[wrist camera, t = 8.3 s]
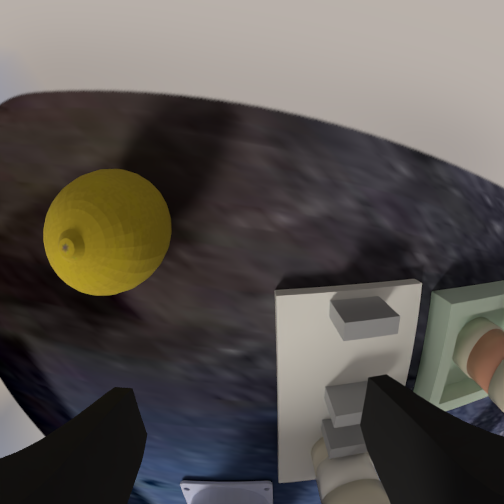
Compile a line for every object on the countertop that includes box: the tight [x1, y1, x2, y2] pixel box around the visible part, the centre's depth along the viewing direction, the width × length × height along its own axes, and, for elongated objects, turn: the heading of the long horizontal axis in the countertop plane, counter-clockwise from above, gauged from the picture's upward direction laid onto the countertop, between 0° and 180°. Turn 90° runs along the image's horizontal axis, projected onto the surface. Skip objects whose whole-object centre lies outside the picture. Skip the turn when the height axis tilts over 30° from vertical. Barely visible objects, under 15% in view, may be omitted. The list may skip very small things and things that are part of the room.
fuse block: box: [275, 279, 422, 503], centre depth 18 cm, size 17×9×4 cm, turn 3°
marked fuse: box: [452, 317, 504, 413], centre depth 15 cm, size 4×4×7 cm
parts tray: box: [413, 280, 504, 411], centre depth 18 cm, size 9×9×2 cm
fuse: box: [311, 437, 391, 504], centre depth 17 cm, size 4×4×7 cm
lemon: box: [44, 169, 171, 295], centre depth 13 cm, size 6×6×8 cm
